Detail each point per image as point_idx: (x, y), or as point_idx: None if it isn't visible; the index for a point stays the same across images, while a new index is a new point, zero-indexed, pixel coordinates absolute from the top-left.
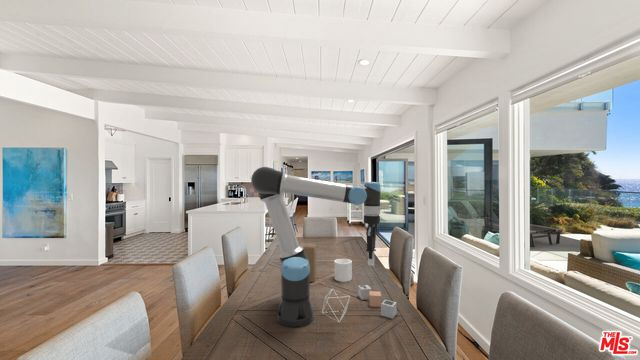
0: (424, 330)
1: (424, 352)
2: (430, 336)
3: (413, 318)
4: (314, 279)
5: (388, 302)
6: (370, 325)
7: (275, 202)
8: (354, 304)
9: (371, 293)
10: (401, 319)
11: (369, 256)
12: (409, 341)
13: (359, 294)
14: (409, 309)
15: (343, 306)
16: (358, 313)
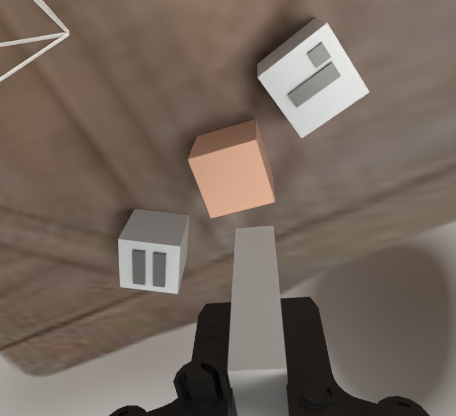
0: (121, 343)
1: (4, 349)
2: (97, 357)
3: (184, 312)
4: None
5: (154, 265)
6: (24, 192)
7: None
8: (171, 48)
9: (222, 161)
10: None
11: (199, 336)
12: (26, 316)
13: (291, 40)
14: None
15: (52, 17)
16: (85, 110)
